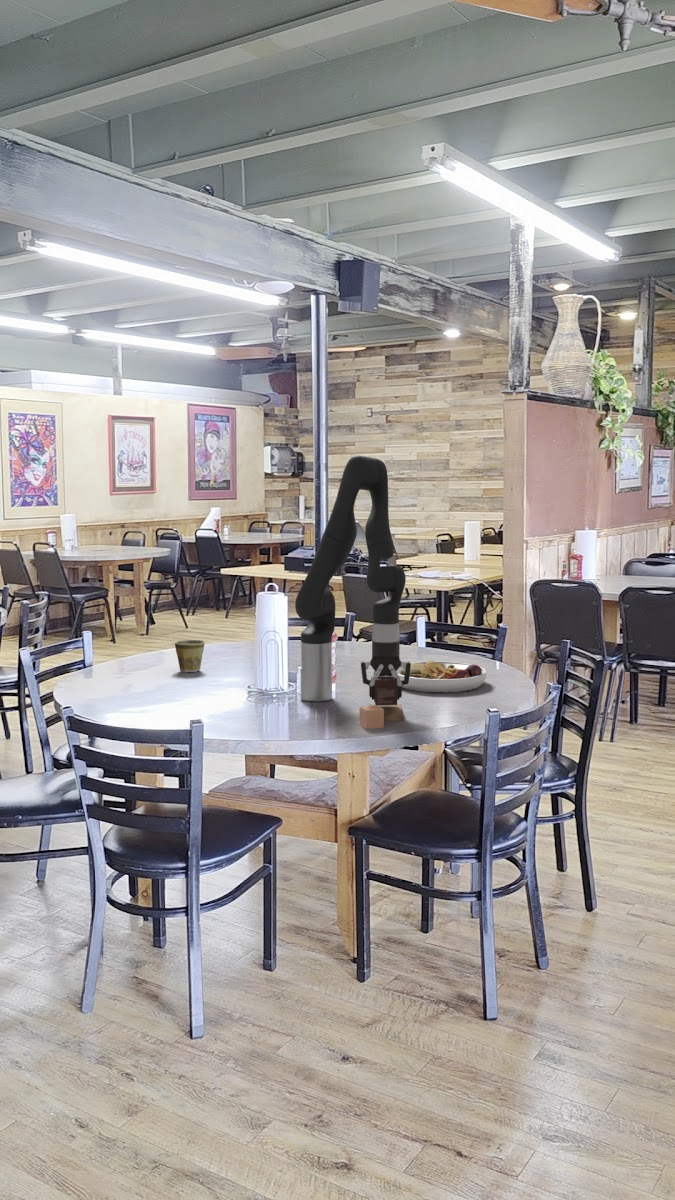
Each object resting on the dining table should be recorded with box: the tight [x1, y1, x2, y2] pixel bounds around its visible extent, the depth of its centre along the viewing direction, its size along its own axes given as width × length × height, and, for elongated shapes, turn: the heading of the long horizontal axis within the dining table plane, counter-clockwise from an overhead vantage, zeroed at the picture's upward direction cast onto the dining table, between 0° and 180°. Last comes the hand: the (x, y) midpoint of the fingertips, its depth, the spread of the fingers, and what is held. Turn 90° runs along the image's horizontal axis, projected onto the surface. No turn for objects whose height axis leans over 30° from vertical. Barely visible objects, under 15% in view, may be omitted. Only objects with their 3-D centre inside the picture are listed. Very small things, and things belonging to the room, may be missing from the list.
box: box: [373, 675, 398, 705], centre depth 277 cm, size 6×6×7 cm
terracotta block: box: [359, 705, 385, 730], centre depth 267 cm, size 5×5×5 cm
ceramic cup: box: [174, 639, 205, 673], centre depth 345 cm, size 13×10×10 cm
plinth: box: [368, 703, 404, 722], centre depth 277 cm, size 9×9×3 cm
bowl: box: [396, 660, 487, 693], centre depth 320 cm, size 30×30×8 cm
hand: (385, 698), depth 277 cm, fingers closed on box, 6 cm apart
